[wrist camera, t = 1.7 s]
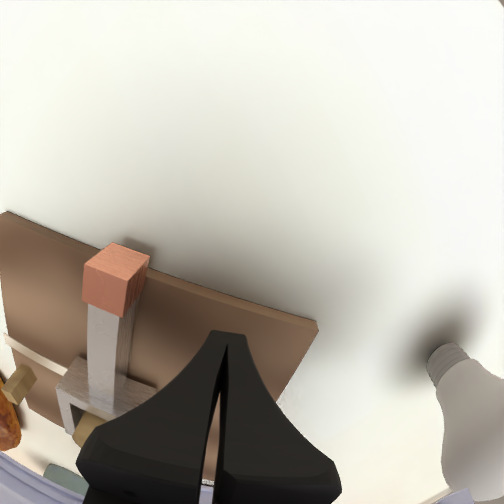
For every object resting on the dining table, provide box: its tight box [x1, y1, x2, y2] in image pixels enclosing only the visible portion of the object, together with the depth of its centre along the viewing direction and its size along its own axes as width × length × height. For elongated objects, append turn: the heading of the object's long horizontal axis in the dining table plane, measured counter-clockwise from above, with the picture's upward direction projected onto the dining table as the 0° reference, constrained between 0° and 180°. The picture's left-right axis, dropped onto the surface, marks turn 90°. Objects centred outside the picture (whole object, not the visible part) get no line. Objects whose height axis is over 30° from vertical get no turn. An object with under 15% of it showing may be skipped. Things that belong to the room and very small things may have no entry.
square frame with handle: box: [55, 242, 157, 435], centre depth 12 cm, size 13×5×3 cm, turn 161°
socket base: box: [0, 211, 319, 481], centre depth 13 cm, size 18×18×5 cm
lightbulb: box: [427, 343, 504, 501], centre depth 10 cm, size 6×6×11 cm
